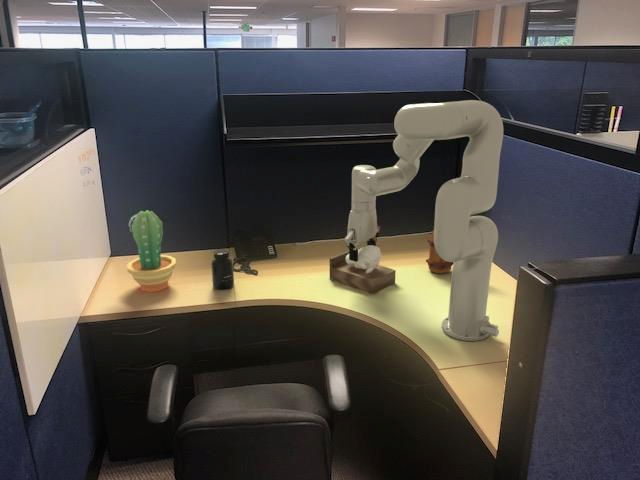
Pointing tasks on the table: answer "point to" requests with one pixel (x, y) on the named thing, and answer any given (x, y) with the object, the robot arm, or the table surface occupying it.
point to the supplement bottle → (222, 270)
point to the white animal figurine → (366, 258)
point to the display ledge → (360, 275)
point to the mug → (437, 259)
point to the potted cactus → (149, 253)
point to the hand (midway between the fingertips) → (362, 256)
